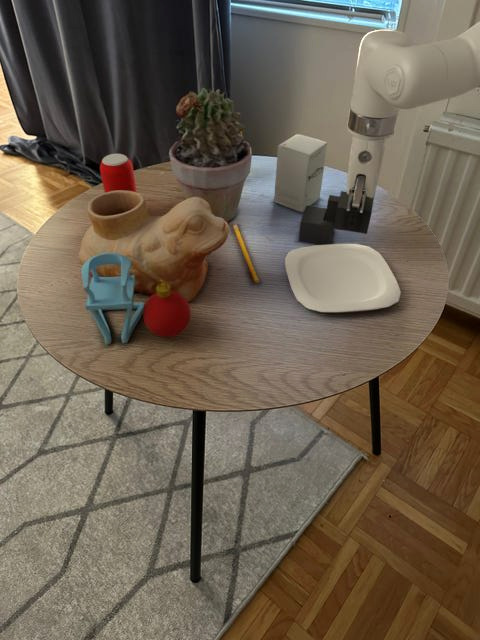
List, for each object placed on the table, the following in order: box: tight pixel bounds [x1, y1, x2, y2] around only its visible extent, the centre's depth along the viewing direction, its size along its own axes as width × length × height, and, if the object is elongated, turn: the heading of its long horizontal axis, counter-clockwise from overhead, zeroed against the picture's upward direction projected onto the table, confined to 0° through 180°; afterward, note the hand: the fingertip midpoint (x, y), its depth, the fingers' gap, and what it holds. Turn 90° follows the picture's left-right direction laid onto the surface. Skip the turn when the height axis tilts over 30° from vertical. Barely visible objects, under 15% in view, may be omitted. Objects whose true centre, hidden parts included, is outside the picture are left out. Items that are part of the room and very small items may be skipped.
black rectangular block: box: [325, 190, 375, 235], centre depth 89 cm, size 8×6×4 cm
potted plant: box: [160, 87, 258, 223], centre depth 92 cm, size 18×20×25 cm
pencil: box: [232, 222, 259, 284], centre depth 90 cm, size 1×18×1 cm, turn 13°
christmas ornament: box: [142, 280, 192, 338], centre depth 72 cm, size 7×7×10 cm
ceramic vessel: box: [78, 190, 230, 303], centre depth 80 cm, size 14×26×15 cm, turn 77°
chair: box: [80, 253, 146, 345], centre depth 72 cm, size 8×8×12 cm
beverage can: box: [99, 153, 138, 193], centre depth 95 cm, size 6×6×12 cm
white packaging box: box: [273, 133, 328, 213], centre depth 99 cm, size 7×7×13 cm
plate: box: [284, 243, 402, 314], centre depth 83 cm, size 18×18×2 cm
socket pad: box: [298, 205, 335, 245], centre depth 92 cm, size 6×6×4 cm
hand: (353, 218), depth 89 cm, fingers closed on black rectangular block, 6 cm apart
